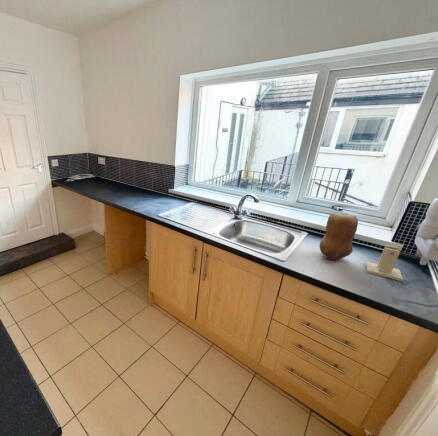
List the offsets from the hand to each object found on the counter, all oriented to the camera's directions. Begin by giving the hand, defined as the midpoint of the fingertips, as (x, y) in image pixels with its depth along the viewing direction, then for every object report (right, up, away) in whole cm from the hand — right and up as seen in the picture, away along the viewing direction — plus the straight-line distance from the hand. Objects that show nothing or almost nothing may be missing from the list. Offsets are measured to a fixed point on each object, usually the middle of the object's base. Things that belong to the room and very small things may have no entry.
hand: (420, 261), depth 107 cm
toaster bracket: (-8, -7, +9) cm, 14 cm away
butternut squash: (-23, -2, +21) cm, 31 cm away
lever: (-4, +1, +3) cm, 5 cm away
